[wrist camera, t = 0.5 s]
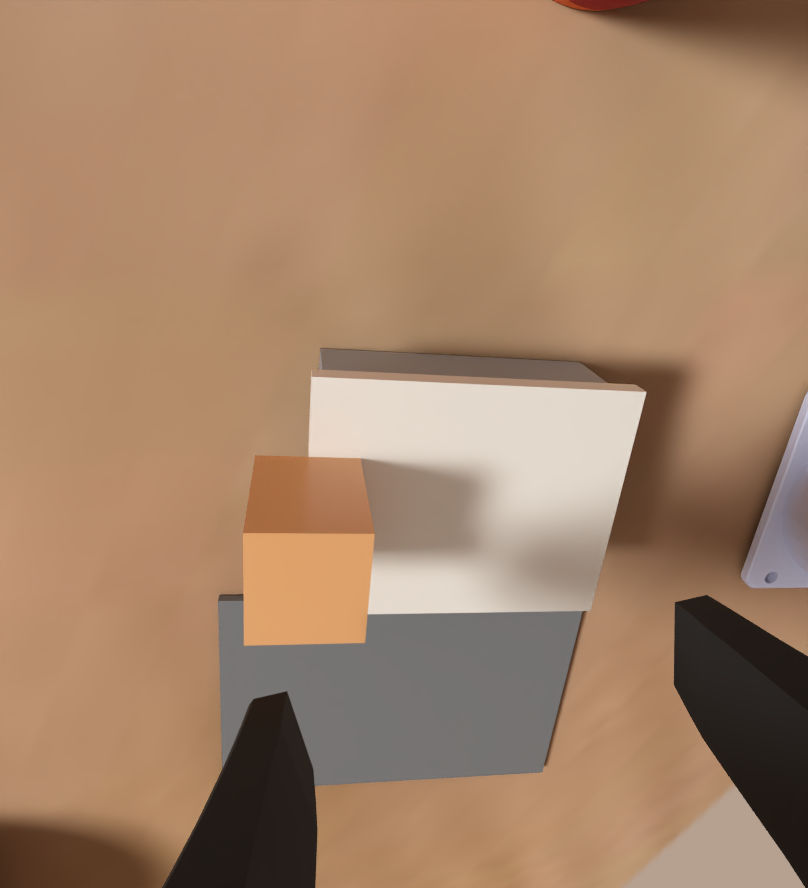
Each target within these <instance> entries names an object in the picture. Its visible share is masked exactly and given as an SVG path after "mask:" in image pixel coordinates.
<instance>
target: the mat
mask: <svg viewBox="0 0 808 888" xmlns="http://www.w3.org/2000/svg"><path fill="white" fill-rule="evenodd" d="M218 612H219V652H220V693H221V733H222V769H223V766H224V764H225V762H226V760H227V757H228V755H229V753H230V751H231V748H232V746H233V743H234V741H235V739H236V736H237V734H238V731H239V729H240V726H241V724H242V721H243V719H244V716H245V714H246V711H247V709H248V706H249V704H250V703H251V702H252V700H253V699H255V698H260V697H264V696H268V695H273V694H277V693H281V692H286V691H287V692H288V695H289V698H290V701H291V704H292V707H293V710H294V713H295V716H296V719H297V722H298V725H299V728H300V731H301V734H302V737H303V740H304V743H305V746H306V749H307V752H308V755H309V758H310V761H311V763H312V766H313V769H314V784H315V786H318V785H335V784H352V783H369V782H386V781H403V780H420V779H437V778H454V777H471V776H488V775H505V774H522V773H539V772H542V771H543V767H544V763H545V759H546V755H547V751H548V747H549V743H550V740H551V736H552V732H553V728H554V724H555V720H556V716H557V712H558V708H559V704H560V700H561V696H562V692H563V688H564V684H565V680H566V676H567V672H568V668H569V664H570V660H571V656H572V652H573V648H574V644H575V640H576V636H577V632H578V628H579V624H580V620H581V616H582V612H583V611H553V612H488V613H423V614H368V616H367V627H366V638H365V643H343V644H299V645H255V646H244V595H219V600H218Z"/></svg>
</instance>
